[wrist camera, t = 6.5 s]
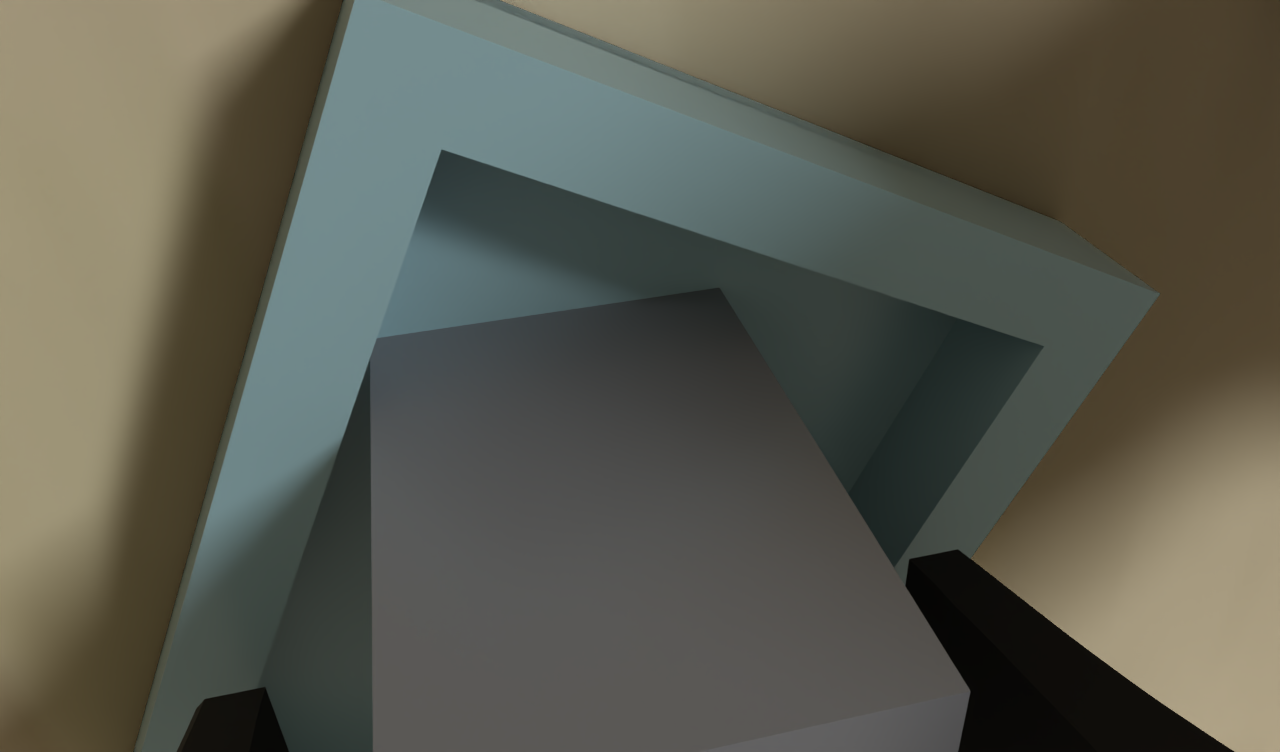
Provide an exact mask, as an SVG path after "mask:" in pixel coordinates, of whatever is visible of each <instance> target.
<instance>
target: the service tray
mask: <svg viewBox="0 0 1280 752" xmlns="http://www.w3.org/2000/svg"><path fill="white" fill-rule="evenodd" d="M713 288H720V289H721V291H722V292H723V294H724V295H725V297H726V299H727V300H728V302H729V304H730V305H731V307H732V308H733V310H734V312H735V313H736V315H737V316H738V318H739V320H740V321H741V323H742V324H743V326H744V328H745V329H746V331H747V332H748V334H749V336H750V337H751V339H752V341H753V342H754V344H755V345H756V347H757V349H758V350H759V352H760V353H761V355H762V357H763V358H764V360H765V361H766V363H767V365H768V366H769V368H770V369H771V371H772V373H773V374H774V376H775V377H776V379H777V381H778V382H779V384H780V386H781V387H782V389H783V390H784V392H785V394H786V395H787V397H788V398H789V400H790V402H791V403H792V405H793V406H794V408H795V410H796V411H797V413H798V414H799V416H800V418H801V419H802V421H803V423H804V424H805V426H806V427H807V429H808V431H809V432H810V434H811V435H812V437H813V439H814V440H815V442H816V443H817V445H818V447H819V448H820V450H821V451H822V453H823V455H824V456H825V458H826V460H827V461H828V463H829V464H830V466H831V468H832V469H833V471H834V472H835V474H836V476H837V477H838V479H839V480H840V482H841V484H842V485H843V487H844V488H845V490H846V492H847V493H848V495H849V496H850V498H851V500H852V501H853V503H854V505H855V506H856V508H857V509H858V511H859V513H860V514H861V516H862V517H863V519H864V521H865V522H866V524H867V525H868V527H869V529H870V530H871V532H872V533H873V535H874V537H875V538H876V540H877V542H878V543H879V545H880V546H881V548H882V550H883V551H884V553H885V554H886V556H887V558H888V559H889V561H890V562H891V564H892V566H893V567H894V569H895V570H896V572H897V574H898V575H899V577H900V578H901V580H902V582H903V583H904V585H905V584H906V577H907V570H908V563H909V559H911V558H916V557H921V556H926V555H932V554H937V553H942V552H947V551H952V550H957V549H958V550H960V551H961V552H962V553H963V554H965V555H966V556H967V557H969V558H970V559H971V557H972V556H973V555H974V553H975V552H976V550H977V549H978V548H979V546H980V545H981V543H982V542H983V541H984V539H985V538H986V536H987V535H988V534H989V532H990V531H991V529H992V528H993V527H994V525H995V524H996V522H997V521H998V520H999V518H1000V517H1001V515H1002V514H1003V513H1004V511H1005V510H1006V508H1007V507H1008V506H1009V504H1010V503H1011V502H1012V500H1013V499H1014V497H1015V496H1016V495H1017V493H1018V492H1019V490H1020V489H1021V488H1022V486H1023V485H1024V483H1025V482H1026V481H1027V479H1028V478H1029V476H1030V475H1031V474H1032V472H1033V471H1034V469H1035V468H1036V467H1037V465H1038V464H1039V462H1040V461H1041V460H1042V458H1043V457H1044V455H1045V454H1046V453H1047V451H1048V450H1049V448H1050V447H1051V446H1052V444H1053V443H1054V441H1055V440H1056V439H1057V437H1058V436H1059V434H1060V433H1061V432H1062V430H1063V429H1064V428H1065V426H1066V425H1067V423H1068V422H1069V421H1070V419H1071V418H1072V416H1073V415H1074V414H1075V412H1076V411H1077V409H1078V408H1079V407H1080V405H1081V404H1082V402H1083V401H1084V400H1085V398H1086V397H1087V395H1088V394H1089V393H1090V391H1091V390H1092V388H1093V387H1094V386H1095V384H1096V383H1097V381H1098V380H1099V379H1100V377H1101V376H1102V374H1103V373H1104V372H1105V370H1106V369H1107V367H1108V366H1109V365H1110V363H1111V362H1112V361H1113V359H1114V358H1115V356H1116V355H1117V354H1118V352H1119V351H1120V349H1121V348H1122V347H1123V345H1124V344H1125V342H1126V341H1127V340H1128V338H1129V337H1130V335H1131V334H1132V333H1133V331H1134V330H1135V328H1136V327H1137V326H1138V324H1139V323H1140V321H1141V320H1142V319H1143V317H1144V316H1145V314H1146V313H1147V312H1148V310H1149V309H1150V307H1151V306H1152V305H1153V303H1154V302H1155V300H1156V299H1157V298H1158V296H1159V295H1160V293H1158V292H1157V291H1156V290H1154V289H1153V288H1151V287H1150V286H1149V285H1147V284H1146V283H1144V282H1143V281H1142V280H1140V279H1139V278H1138V277H1136V276H1135V275H1133V274H1132V273H1131V272H1129V271H1128V270H1127V269H1125V268H1124V267H1122V266H1121V265H1120V264H1118V263H1117V262H1115V261H1114V260H1113V259H1111V258H1110V257H1109V256H1107V255H1106V254H1104V253H1103V252H1102V251H1100V250H1099V249H1098V248H1096V247H1095V246H1093V245H1092V244H1091V243H1089V242H1088V241H1086V240H1085V239H1084V238H1082V237H1081V236H1080V235H1078V234H1077V233H1075V232H1074V231H1073V230H1071V229H1070V228H1069V227H1067V226H1066V225H1064V224H1063V223H1062V222H1060V221H1058V220H1055V219H1052V218H1050V217H1047V216H1045V215H1042V214H1040V213H1037V212H1035V211H1032V210H1030V209H1027V208H1025V207H1022V206H1020V205H1017V204H1014V203H1012V202H1009V201H1007V200H1004V199H1002V198H999V197H997V196H994V195H992V194H989V193H987V192H984V191H982V190H979V189H976V188H974V187H971V186H969V185H966V184H964V183H961V182H959V181H956V180H954V179H951V178H949V177H946V176H944V175H941V174H938V173H936V172H933V171H931V170H928V169H926V168H923V167H921V166H918V165H916V164H913V163H911V162H908V161H906V160H903V159H901V158H898V157H895V156H893V155H890V154H888V153H885V152H883V151H880V150H878V149H875V148H873V147H870V146H868V145H865V144H863V143H860V142H857V141H855V140H852V139H850V138H847V137H845V136H842V135H840V134H837V133H835V132H832V131H830V130H827V129H825V128H822V127H819V126H817V125H814V124H812V123H809V122H807V121H804V120H802V119H799V118H797V117H794V116H792V115H789V114H787V113H784V112H781V111H779V110H776V109H774V108H771V107H769V106H766V105H764V104H761V103H759V102H756V101H754V100H751V99H749V98H746V97H743V96H741V95H738V94H736V93H733V92H731V91H728V90H726V89H723V88H721V87H718V86H716V85H713V84H711V83H708V82H705V81H703V80H700V79H698V78H695V77H693V76H690V75H688V74H685V73H683V72H680V71H678V70H675V69H673V68H670V67H667V66H665V65H662V64H660V63H657V62H655V61H652V60H650V59H647V58H645V57H642V56H640V55H637V54H635V53H632V52H629V51H627V50H624V49H622V48H619V47H617V46H614V45H612V44H609V43H607V42H604V41H602V40H599V39H597V38H594V37H591V36H589V35H586V34H584V33H581V32H579V31H576V30H574V29H571V28H569V27H566V26H564V25H561V24H559V23H556V22H553V21H551V20H548V19H546V18H543V17H541V16H538V15H536V14H533V13H531V12H528V11H526V10H523V9H521V8H518V7H515V6H513V5H510V4H508V3H505V2H503V1H500V0H343V2H342V6H341V9H340V13H339V16H338V20H337V24H336V27H335V31H334V34H333V38H332V41H331V45H330V49H329V52H328V56H327V59H326V63H325V67H324V70H323V74H322V77H321V81H320V85H319V88H318V92H317V95H316V99H315V102H314V106H313V110H312V113H311V117H310V120H309V124H308V128H307V131H306V135H305V138H304V142H303V145H302V149H301V153H300V156H299V160H298V163H297V167H296V171H295V174H294V178H293V181H292V185H291V188H290V192H289V196H288V199H287V203H286V206H285V210H284V214H283V217H282V221H281V224H280V228H279V232H278V235H277V239H276V242H275V246H274V249H273V253H272V257H271V260H270V264H269V267H268V271H267V275H266V278H265V282H264V285H263V289H262V292H261V296H260V300H259V303H258V307H257V310H256V314H255V318H254V321H253V325H252V328H251V332H250V335H249V339H248V343H247V346H246V350H245V353H244V357H243V361H242V364H241V368H240V371H239V375H238V378H237V382H236V386H235V389H234V393H233V396H232V400H231V404H230V407H229V411H228V414H227V418H226V422H225V425H224V429H223V432H222V436H221V439H220V443H219V447H218V450H217V454H216V457H215V461H214V465H213V468H212V472H211V475H210V479H209V482H208V486H207V490H206V493H205V497H204V500H203V504H202V508H201V511H200V515H199V518H198V522H197V525H196V529H195V533H194V536H193V540H192V543H191V547H190V551H189V554H188V558H187V561H186V565H185V569H184V572H183V576H182V579H181V583H180V586H179V590H178V594H177V597H176V601H175V604H174V608H173V612H172V615H171V619H170V622H169V626H168V629H167V633H166V637H165V640H164V644H163V647H162V651H161V655H160V658H159V662H158V665H157V669H156V673H155V676H154V680H153V683H152V687H151V690H150V694H149V698H148V701H147V705H146V708H145V712H144V716H143V719H142V723H141V726H140V730H139V733H138V737H137V741H136V744H135V748H134V751H133V752H177V750H178V748H179V745H180V743H181V741H182V739H183V737H184V735H185V732H186V730H187V728H188V726H189V724H190V721H191V719H192V717H193V715H194V712H195V710H196V708H197V707H198V706H199V705H200V704H201V703H202V701H203V700H204V699H207V698H212V697H217V696H222V695H227V694H232V693H237V692H242V691H247V690H252V689H257V688H262V687H266V690H267V693H268V696H269V698H270V701H271V704H272V707H273V709H274V712H275V715H276V717H277V720H278V723H279V726H280V728H281V731H282V734H283V736H284V739H285V742H286V745H287V747H288V750H289V752H373V700H372V559H371V418H370V357H371V354H372V351H373V348H374V345H375V342H376V339H377V338H381V337H388V336H395V335H401V334H408V333H415V332H422V331H429V330H435V329H442V328H449V327H456V326H462V325H469V324H476V323H483V322H490V321H496V320H503V319H510V318H517V317H523V316H530V315H537V314H544V313H551V312H557V311H564V310H571V309H578V308H584V307H591V306H598V305H605V304H612V303H618V302H625V301H632V300H639V299H645V298H652V297H659V296H666V295H673V294H679V293H686V292H693V291H700V290H707V289H713Z"/></svg>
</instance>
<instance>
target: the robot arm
mask: <svg viewBox="0 0 1280 752" xmlns="http://www.w3.org/2000/svg"><path fill="white" fill-rule="evenodd" d="M905 587H906V588H907V590H908V591H909V593H910V595H911V596H912V598H913V599H914V601H915V603H916V604H917V606H918V607H919V609H920V611H921V612H922V614H923V615H924V617H925V619H926V620H927V622H928V624H929V625H930V627H931V628H932V630H933V632H934V633H935V635H936V636H937V638H938V640H939V641H940V643H941V644H942V646H943V648H944V649H945V651H946V652H947V654H948V656H949V657H950V659H951V660H952V662H953V664H954V665H955V667H956V669H957V670H958V672H959V673H960V675H961V677H962V678H963V680H964V681H965V683H966V685H967V686H968V688H969V689H970V696H969V701H968V706H967V711H966V716H965V720H964V725H963V730H962V735H961V740H960V745H959V750H958V752H1234V751H1233V750H1231V749H1229V748H1228V747H1226V746H1225V745H1223V744H1222V743H1220V742H1219V741H1217V740H1216V739H1214V738H1213V737H1211V736H1210V735H1208V734H1207V733H1205V732H1204V731H1202V730H1201V729H1199V728H1198V727H1196V726H1195V725H1193V724H1192V723H1190V722H1189V721H1187V720H1186V719H1184V718H1183V717H1181V716H1180V715H1178V714H1177V713H1175V712H1174V711H1172V710H1171V709H1169V708H1168V707H1166V706H1165V705H1163V704H1162V703H1160V702H1159V701H1158V700H1156V699H1155V698H1153V697H1152V696H1151V695H1149V694H1148V693H1146V692H1145V691H1143V690H1142V689H1141V688H1139V687H1138V686H1136V685H1135V684H1133V683H1132V682H1131V681H1129V680H1128V679H1127V678H1125V677H1124V676H1123V675H1121V674H1120V673H1118V672H1117V671H1116V670H1114V669H1113V668H1112V667H1110V666H1109V665H1108V664H1106V663H1105V662H1104V661H1102V660H1101V659H1099V658H1098V657H1097V656H1095V655H1094V654H1093V653H1091V652H1090V651H1089V650H1087V649H1086V648H1085V647H1083V646H1082V645H1081V644H1079V643H1078V642H1077V641H1075V640H1074V639H1073V638H1071V637H1070V636H1069V635H1067V634H1066V633H1065V632H1063V631H1062V630H1061V629H1060V628H1058V627H1057V626H1056V625H1054V624H1053V623H1052V622H1051V621H1049V620H1048V619H1047V618H1045V617H1044V616H1043V615H1042V614H1040V613H1039V612H1038V611H1036V610H1035V609H1034V608H1033V607H1031V606H1030V605H1029V604H1027V603H1026V602H1025V601H1024V600H1022V599H1021V598H1020V597H1018V596H1017V595H1016V594H1015V593H1013V592H1012V591H1011V590H1010V589H1008V588H1007V587H1006V586H1004V585H1003V584H1002V583H1001V582H999V581H998V580H997V579H996V578H994V577H993V576H992V575H990V574H989V573H988V572H987V571H985V570H984V569H983V568H982V567H980V566H979V565H978V564H976V563H975V562H974V561H973V560H971V559H970V558H969V557H967V556H966V555H965V554H963V553H962V552H961V551H960V550H958V549H957V550H952V551H947V552H942V553H937V554H932V555H926V556H921V557H916V558H911V559H909V563H908V570H907V577H906V584H905ZM177 752H289V750H288V747H287V745H286V742H285V739H284V736H283V734H282V731H281V728H280V726H279V723H278V720H277V717H276V715H275V712H274V709H273V707H272V704H271V701H270V698H269V696H268V693H267V690H266V687H262V688H257V689H252V690H247V691H242V692H237V693H232V694H227V695H222V696H217V697H212V698H207V699H204V700H203V701H202V703H201V704H200V705H199V706H198V707H197V708H196V710H195V712H194V715H193V717H192V719H191V721H190V724H189V726H188V728H187V730H186V732H185V735H184V737H183V739H182V741H181V743H180V745H179V748H178V750H177Z"/></svg>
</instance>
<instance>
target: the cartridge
mask: <svg viewBox="0 0 1280 752" xmlns="http://www.w3.org/2000/svg"><path fill="white" fill-rule="evenodd" d="M370 418H371V559H372V700H373V752H958V750H959V745H960V740H961V735H962V730H963V725H964V720H965V716H966V711H967V706H968V701H969V696H970V689H969V688H968V686H967V685H966V683H965V681H964V680H963V678H962V677H961V675H960V673H959V672H958V670H957V669H956V667H955V665H954V664H953V662H952V660H951V659H950V657H949V656H948V654H947V652H946V651H945V649H944V648H943V646H942V644H941V643H940V641H939V640H938V638H937V636H936V635H935V633H934V632H933V630H932V628H931V627H930V625H929V624H928V622H927V620H926V619H925V617H924V615H923V614H922V612H921V611H920V609H919V607H918V606H917V604H916V603H915V601H914V599H913V598H912V596H911V595H910V593H909V591H908V590H907V588H906V587H905V585H904V583H903V582H902V580H901V578H900V577H899V575H898V574H897V572H896V570H895V569H894V567H893V566H892V564H891V562H890V561H889V559H888V558H887V556H886V554H885V553H884V551H883V550H882V548H881V546H880V545H879V543H878V542H877V540H876V538H875V537H874V535H873V533H872V532H871V530H870V529H869V527H868V525H867V524H866V522H865V521H864V519H863V517H862V516H861V514H860V513H859V511H858V509H857V508H856V506H855V505H854V503H853V501H852V500H851V498H850V496H849V495H848V493H847V492H846V490H845V488H844V487H843V485H842V484H841V482H840V480H839V479H838V477H837V476H836V474H835V472H834V471H833V469H832V468H831V466H830V464H829V463H828V461H827V460H826V458H825V456H824V455H823V453H822V451H821V450H820V448H819V447H818V445H817V443H816V442H815V440H814V439H813V437H812V435H811V434H810V432H809V431H808V429H807V427H806V426H805V424H804V423H803V421H802V419H801V418H800V416H799V414H798V413H797V411H796V410H795V408H794V406H793V405H792V403H791V402H790V400H789V398H788V397H787V395H786V394H785V392H784V390H783V389H782V387H781V386H780V384H779V382H778V381H777V379H776V377H775V376H774V374H773V373H772V371H771V369H770V368H769V366H768V365H767V363H766V361H765V360H764V358H763V357H762V355H761V353H760V352H759V350H758V349H757V347H756V345H755V344H754V342H753V341H752V339H751V337H750V336H749V334H748V332H747V331H746V329H745V328H744V326H743V324H742V323H741V321H740V320H739V318H738V316H737V315H736V313H735V312H734V310H733V308H732V307H731V305H730V304H729V302H728V300H727V299H726V297H725V295H724V294H723V292H722V291H721V289H720V288H713V289H707V290H700V291H693V292H686V293H679V294H673V295H666V296H659V297H652V298H645V299H639V300H632V301H625V302H618V303H612V304H605V305H598V306H591V307H584V308H578V309H571V310H564V311H557V312H551V313H544V314H537V315H530V316H523V317H517V318H510V319H503V320H496V321H490V322H483V323H476V324H469V325H462V326H456V327H449V328H442V329H435V330H429V331H422V332H415V333H408V334H401V335H395V336H388V337H381V338H377V339H376V342H375V345H374V348H373V351H372V354H371V357H370Z"/></svg>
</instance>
